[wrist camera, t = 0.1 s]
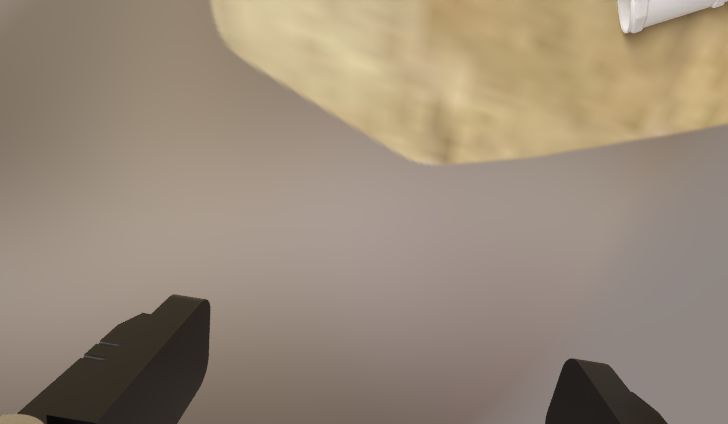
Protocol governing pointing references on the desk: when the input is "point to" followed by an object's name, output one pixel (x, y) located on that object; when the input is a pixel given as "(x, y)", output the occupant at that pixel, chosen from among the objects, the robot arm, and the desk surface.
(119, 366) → the robot arm
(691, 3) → the white brass knuckles
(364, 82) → the desk surface
